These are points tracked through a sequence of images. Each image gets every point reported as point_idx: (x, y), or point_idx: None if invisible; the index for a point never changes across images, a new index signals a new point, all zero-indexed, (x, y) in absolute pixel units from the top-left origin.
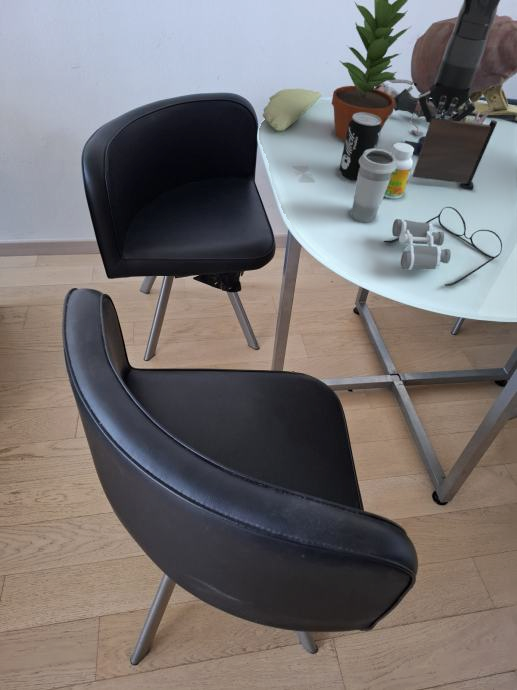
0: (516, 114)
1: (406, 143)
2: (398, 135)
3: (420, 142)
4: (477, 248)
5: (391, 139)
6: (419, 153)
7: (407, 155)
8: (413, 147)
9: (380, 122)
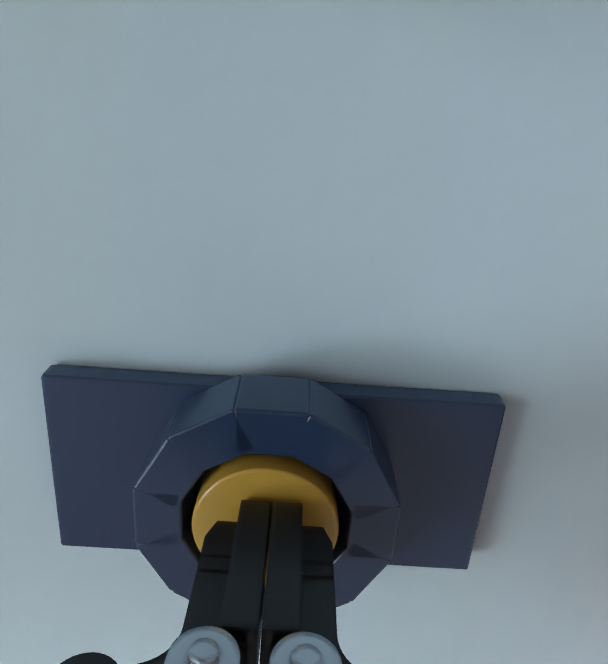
0: None
1: (469, 525)
2: (484, 649)
3: (393, 488)
4: None
5: (556, 583)
6: (376, 394)
7: None
8: (419, 476)
9: None
